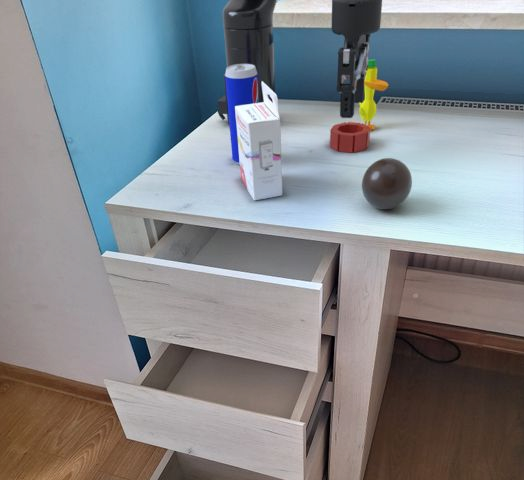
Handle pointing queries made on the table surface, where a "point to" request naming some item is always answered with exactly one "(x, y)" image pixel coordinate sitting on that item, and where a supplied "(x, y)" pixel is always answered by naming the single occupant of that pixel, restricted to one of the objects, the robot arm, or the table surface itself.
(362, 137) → the ring
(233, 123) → the beverage can
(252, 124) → the ink cartridge box
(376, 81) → the toy figure
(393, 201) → the ball
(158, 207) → the table surface
